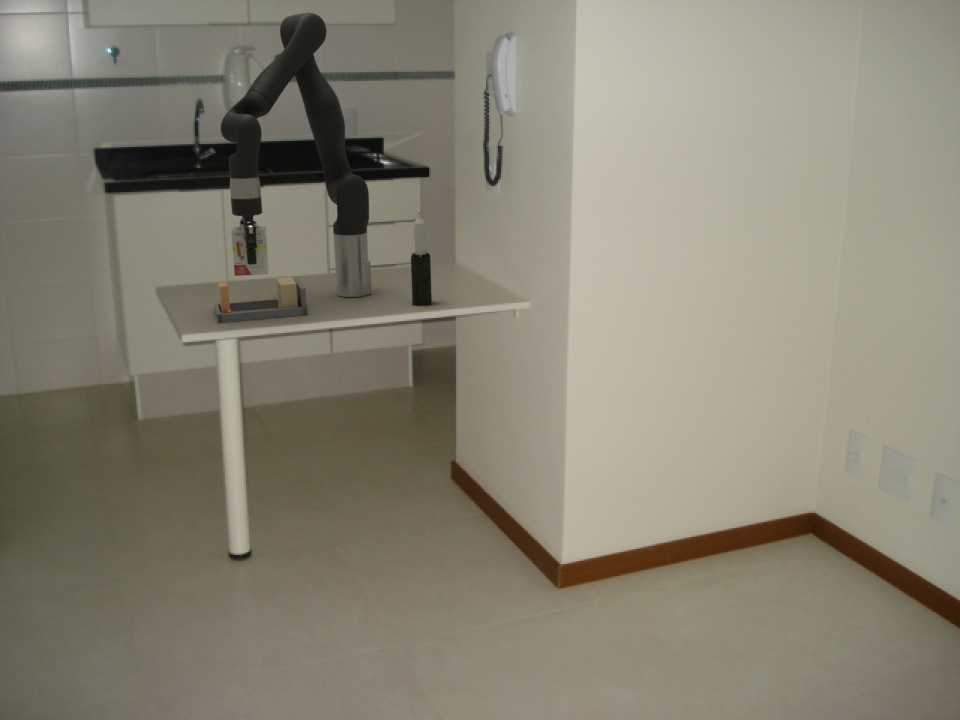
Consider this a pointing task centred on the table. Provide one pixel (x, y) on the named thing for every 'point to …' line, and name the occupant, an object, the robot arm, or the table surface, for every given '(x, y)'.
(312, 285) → the table surface
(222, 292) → the pusher
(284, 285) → the kraft carton
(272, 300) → the grey shallow tray
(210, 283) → the table surface
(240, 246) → the ink box
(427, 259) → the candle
